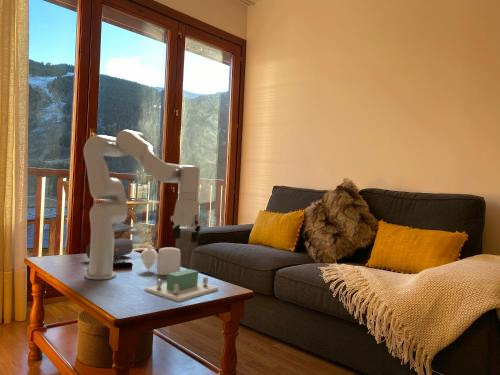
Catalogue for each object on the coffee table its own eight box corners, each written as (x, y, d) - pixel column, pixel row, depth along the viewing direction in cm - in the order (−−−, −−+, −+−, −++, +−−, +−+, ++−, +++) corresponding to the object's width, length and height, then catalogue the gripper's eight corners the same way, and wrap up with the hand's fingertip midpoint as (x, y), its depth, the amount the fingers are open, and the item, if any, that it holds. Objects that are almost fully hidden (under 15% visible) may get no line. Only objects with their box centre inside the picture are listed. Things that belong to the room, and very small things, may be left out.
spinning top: (137, 270, 186) (139, 244, 186) (153, 268, 190) (155, 243, 190) (142, 274, 180) (143, 247, 179) (159, 272, 184) (160, 246, 183)
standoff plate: (145, 290, 154) (146, 278, 154) (185, 281, 172) (186, 270, 172) (178, 301, 144) (179, 288, 144) (217, 290, 162) (218, 278, 162)
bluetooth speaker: (97, 264, 193) (98, 243, 193) (84, 261, 198) (85, 240, 197) (133, 257, 212) (134, 238, 212) (120, 254, 217) (121, 236, 217)
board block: (166, 289, 155) (167, 273, 155) (188, 283, 165) (189, 269, 164) (175, 291, 152) (176, 276, 152) (197, 286, 162) (198, 271, 162)
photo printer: (156, 275, 179) (158, 248, 178) (156, 273, 183) (158, 246, 182) (179, 276, 180) (181, 248, 180) (179, 273, 185) (181, 247, 184)
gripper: (165, 195, 159) (163, 237, 160) (197, 198, 149) (194, 244, 150) (179, 195, 165) (176, 236, 166) (211, 198, 155) (208, 242, 156)
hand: (185, 240), depth 158 cm, fingers open, 9 cm apart
